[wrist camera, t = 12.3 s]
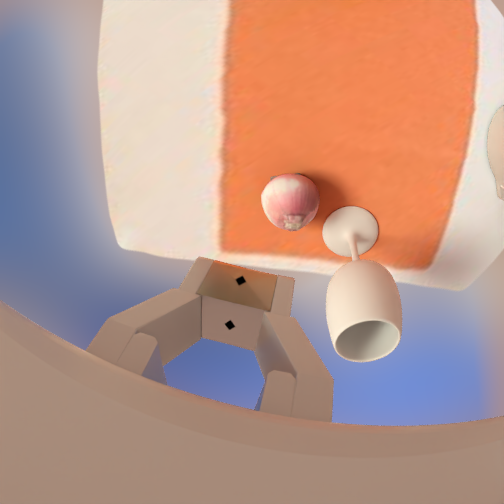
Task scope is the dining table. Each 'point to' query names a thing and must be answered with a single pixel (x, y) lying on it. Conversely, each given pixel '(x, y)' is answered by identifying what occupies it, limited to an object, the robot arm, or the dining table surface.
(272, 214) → the onion
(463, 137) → the dining table surface
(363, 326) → the wineglass
